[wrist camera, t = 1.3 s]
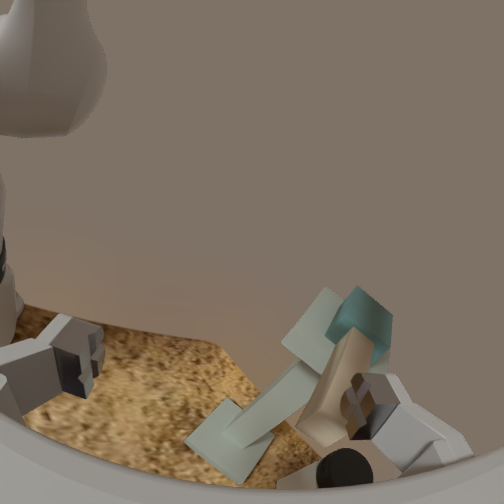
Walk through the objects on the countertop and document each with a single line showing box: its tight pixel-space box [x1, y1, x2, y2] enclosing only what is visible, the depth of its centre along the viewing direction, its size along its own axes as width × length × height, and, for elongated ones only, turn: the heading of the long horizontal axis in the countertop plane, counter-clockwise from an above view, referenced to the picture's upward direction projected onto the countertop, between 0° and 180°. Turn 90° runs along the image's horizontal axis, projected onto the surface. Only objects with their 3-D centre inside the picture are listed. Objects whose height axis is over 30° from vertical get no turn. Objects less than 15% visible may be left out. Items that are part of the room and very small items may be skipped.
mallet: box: [295, 286, 393, 448], centre depth 22 cm, size 5×18×3 cm, turn 149°
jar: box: [276, 448, 373, 489], centre depth 31 cm, size 9×8×12 cm
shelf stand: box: [184, 286, 391, 485], centre depth 32 cm, size 10×11×26 cm
